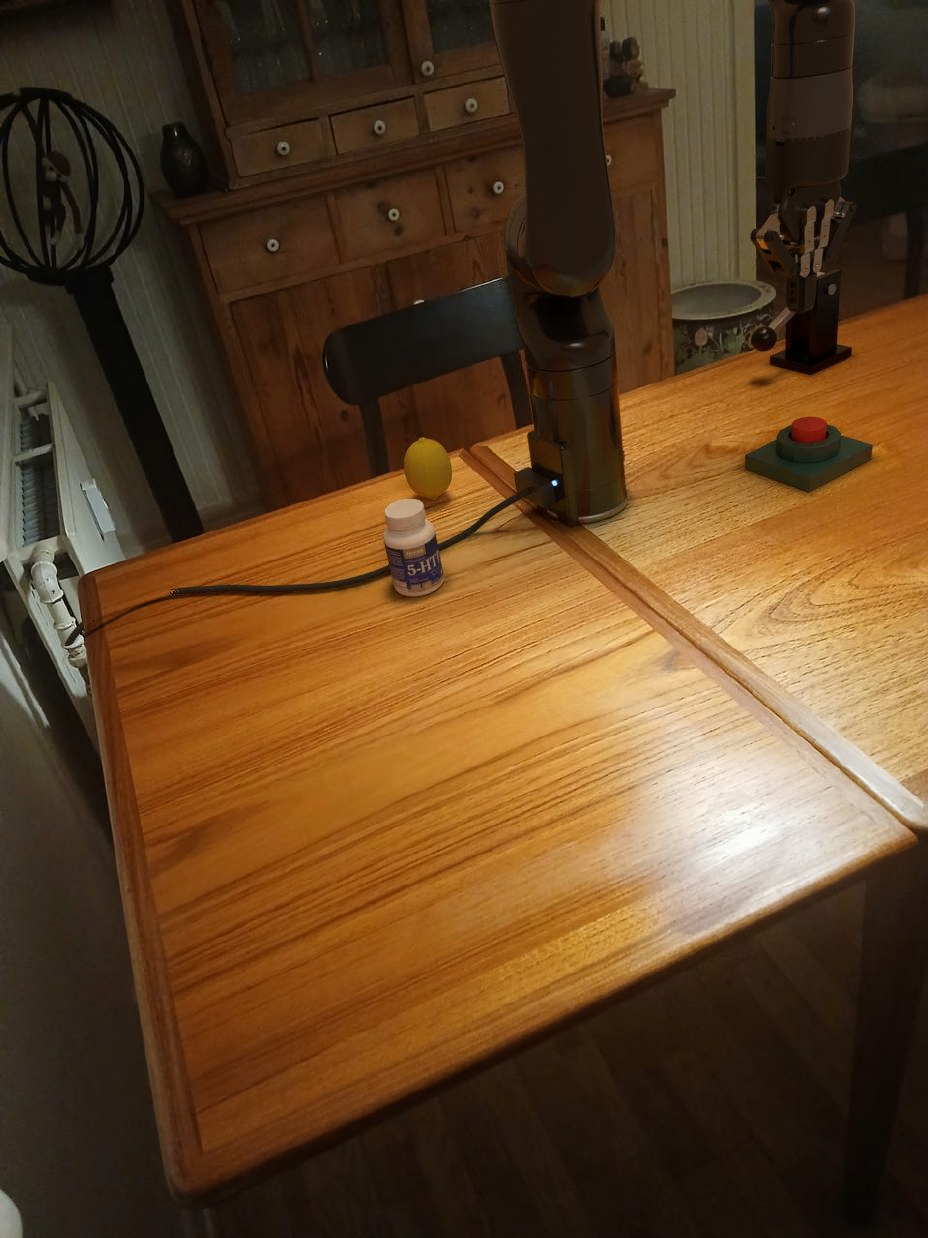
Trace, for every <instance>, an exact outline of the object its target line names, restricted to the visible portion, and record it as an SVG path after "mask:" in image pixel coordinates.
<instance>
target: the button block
mask: <svg viewBox="0 0 928 1238" xmlns="http://www.w3.org/2000/svg"><path fill="white" fill-rule="evenodd" d="M791 428H792V424H790V425H787V426H786V427H784V428H781V429H780V430H778V433H777V435H776V438H775V439H774V440H772V441H770V442H768V443H766V444H764V445H762V446H759V447H758V448H755V449H754V450H752V451H750V452H748V453H745V455H744V468H745V470H748V471H751V472H754V473H756V474H759V475H762V476H764V477H766V478H770V479H773V480H776V481H778V482H781V483H783V484H786V485H788V486H792V487H794V488H797V489H799V490H802V491H805V492H808V493H810V492H812V491H814V490H816V489H817V488H820V487H821V486H823V485H826V484H827V483H829V482H830V481H832V480H835V479H837V478H838V477H840V476H842V475H843V474H846V473H847V472H849V471H851V470H853V469H855V468H856V467H859V466H861V465H863V464H865V463H866V462H868V461H870V460H872V458H873V447H874V446H873V444H871V443H868V442H865V441H861V440H859V439H855V438H852V437H848V436H846V435H843V434H842V432H841V431H840V430H839V429H838V428H837V427H836V426H834V425H831V424H828V423H827V429H826V439H825V440H823V441H821V442H815V443H799V442H796V441H793V440H792V439H791Z"/></svg>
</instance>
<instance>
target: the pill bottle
mask: <svg viewBox="0 0 928 1238" xmlns="http://www.w3.org/2000/svg"><path fill="white" fill-rule="evenodd" d="M383 515H384V519H385V524H386V526H387V527H386V528H385V529H384V531H383V535H382V539H383V545H384V550H385V553H386V558H387V563H388V565H389V567H390V571H391V572H390V576H391V579H392V584H393V587H394V589H395V591H396V592H397V593H398V594H400V595H402V596H405V597H421V596H425V595H428V594H431V593H433V592H434V591H436V590H438V589H439V588H440V587H441V586H442V584H443V583H444V581H445V575H444V569H443V565H442V559H441V553H440V551H439V548H438V544H439V542H438V538H437V533H436V528H435V526H434V524H433V523H432V522H431V521H430V520H429V519H427V515H426V510H425V505H424V502H423V501H422V500H419V499H417V498H416V499H415V498H403V499H399V500H396V501H394V502H391V503H389V504H388V505H387V506H386V507H385V508H384V510H383Z"/></svg>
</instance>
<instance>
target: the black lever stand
mask: <svg viewBox="0 0 928 1238" xmlns="http://www.w3.org/2000/svg"><path fill="white" fill-rule="evenodd" d="M824 273H825V274H823V275H820V276H818V277H817V284H816V298H815V301H814V307H813V309H811V310H808V311H806V312H803V313H797V312H796V313H795V314H794V316H793V317H792V318H791V319H790V320H789V321H788V322H787V323H786V324H785V342H784V349H783V350H781V351H777V352H776V353H774V354H772V355H770V356H769V365H771V366H775V367H779V368H781V369H782V368H783V369H787V370H791V371H794V372H798V373H802V374H806V375H814V374H816V373H818V372H820V371H823V370H824V369H827V368H829V367H832V366H833V365H835V364H837V363H839V362H841V361H844V360H846V359H849V358H850V357H852V353H853V352H852V351H853V347H852V346H848V345H842V344H839V343H838V332H839V316H840V315H839V314H840V302H841V301H840V299H841V281H842V270H841V269H838V268H837V269H833V270H830V271H828V272H824ZM786 307H787V305H785V308H786Z"/></svg>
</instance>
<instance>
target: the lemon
mask: <svg viewBox="0 0 928 1238" xmlns="http://www.w3.org/2000/svg"><path fill="white" fill-rule="evenodd" d="M403 470H404V476H405V479H406V483H407V484H408V486H409V489H411V491H412V492H414V494H416V495H417V496H419V497H420V498H425V499H429V500H430V501H436V500H438V498H439V497H440V496H441V495H443V494H444V493H445V492H446V491H447V490H448V489H449V487H450V485H451V482H452V480H453V467H452V462H451V459H450V456H449V454H448V452H447V450H446V449H445V447H444V446H443V445H442V444H441V443H439V442H438V441H436V440H435V439H430V438H426V437H420V438H418V440H416V441H414V442H412V444H411V445H410V446H409V447H408V449H407V450H406V452H405V455H404V461H403Z"/></svg>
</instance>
